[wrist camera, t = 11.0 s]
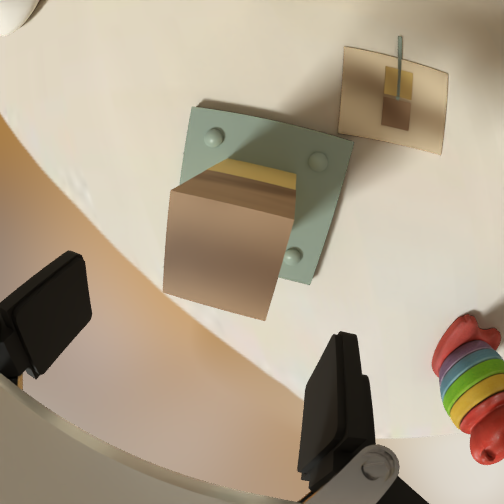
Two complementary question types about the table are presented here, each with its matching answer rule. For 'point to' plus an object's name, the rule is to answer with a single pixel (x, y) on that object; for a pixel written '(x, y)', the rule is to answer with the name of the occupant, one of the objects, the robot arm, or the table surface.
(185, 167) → the baseplate
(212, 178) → the walnut cube
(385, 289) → the table surface
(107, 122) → the table surface
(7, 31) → the flower in vase
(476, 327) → the stacking bear
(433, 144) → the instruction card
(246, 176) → the mustard cube
